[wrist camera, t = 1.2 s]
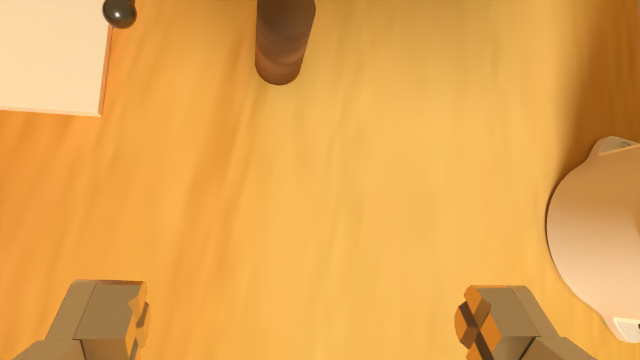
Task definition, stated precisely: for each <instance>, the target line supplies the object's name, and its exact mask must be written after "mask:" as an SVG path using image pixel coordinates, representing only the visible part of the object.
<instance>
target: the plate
mask: <svg viewBox="0 0 640 360" xmlns="http://www.w3.org/2000/svg"><path fill="white" fill-rule="evenodd" d="M104 1H105V0H0V110H13V111H28V112H42V113H56V114H70V115H84V116H98V117H102V110H103V102H104V94H105V86H106V77H107V69H108V61H109V53H110V44H111V36H112V28H113V26H111V25H110V24H109V23H107V21H106V20H105V19H104V17H103V14H102V5H103V3H104Z"/></svg>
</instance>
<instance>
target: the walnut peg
mask: <svg viewBox="0 0 640 360" xmlns="http://www.w3.org/2000/svg"><path fill="white" fill-rule="evenodd" d="M315 11H316V7H315V2H314V0H258V2H257V26H256V54H255V66H256V70H257V72H258V74H259V75H260V77H261V78H262V79H263V80H265V81H266V82H268V83H270V84H273V85H285V84H288V83H290V82H292V81H293V80H294V79H295V78H296V77H297V76H298V74H299V72H300V68H301V64H302V61H303V57H304V53H305V50H306V46H307V42H308V39H309V35H310V31H311V28H312V24H313V20H314V16H315Z"/></svg>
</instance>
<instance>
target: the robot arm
mask: <svg viewBox="0 0 640 360" xmlns="http://www.w3.org/2000/svg"><path fill="white" fill-rule="evenodd" d="M547 237H548V244H549V248H550V252H551V255H552V258H553V261H554V263H555V266H556V268H557V270H558V272H559V273H560V275H561V277H562V278H563V280H564V281H565V283H566V284H567V285H568V287H569V288H570V289H571V290H572V291H573V292H574V293H575V294H576V295H577V296H578V297H579V298H580V299H581V300H583V301H584V302H585V303H587V304H588V305H589V306H591V307H592V308H593V309H595V310H596V311H597V312H598V313H599V314H600V315H601V316H602V318H603V319H604V321H605V322H606V324H607V326H608V327H609V329H610V330H611V331H612V333H613V334H614V335H615V336H616V337H617V338H618V339H619V340H621V341H623V342H632V343H637V342H640V327H638V324H640V143H637V142H634V141H630V140H627V139H623V138H620V137H616V136H609V137H604V138H601V139H599V140H598V141H597V142H596V144H595V145H594V147H593V148H592V150H591V152H590V154H589V156H588V158H587V159H586V160H585V161H584V162H583V163H582V164H581V165H579V166H578V167H576V168H575V169H574V170H572V171H571V172H570V173H569V174H567V175H566V176H565V178H564V179H563V180H562V181H561V182H560V184H559V185H558V187H557V188H556V190H555V192H554V194H553V197H552V199H551V202H550V205H549V210H548V216H547ZM146 295H147V286H146V282H144V281H122V280H86V279H76V280H75V281H74V282H73V283H72V284H71V285H70V287H69V289H68V292H67V294H66V296H65V298H64V300H63V302H62V304H61V306H60V308H59V311H58V313H57V315H56V317H55V319H54V321H53V323H52V325H51V327H50V329H49V332H48V334H47V336H46V338H45V340H39V341H36V342H34V343H33V344H32V345H30V346H29V347H28V348H27V349H25V350H24V351H23V352H21V353H20V354H19V355H17V356H16V357H15V358H13V359H12V360H141V358H140V351H139V350H140V349H141V348H142V347H143V346H144V345H145V344H146V340H147V336H148V330H149V322H150V309H149V304H148V303H147V302H145V299H146ZM464 297H465V299H466V301H465V302H464V303H462V304H461V305H460V306H458V309H457V311H456V314H455V329H456V334H457V336H458V339H459V341H460V343H462V344H463V345H464V346H465V347H466V348H467V349H468V352H467V356H466V358H467V360H597V359H595V358H594V357H592V356H591V355H590V354H588V353H587V352H585V351H584V350H583V349H581V348H580V347H578V346H577V345H576V344H574V343H573V342H572V341H570V340H569V339H567V338H566V337H560V336H559V335H558V333H557V331H556V330H555V328H554V327H553V325H552V324H551V322H550V321H549V319H548V317H547V316H546V314H545V313H544V311H543V310H542V308H541V307H540V305H539V304H538V302H537V300H536V299H535V297H534V296H533V294H532V293H531V291H530V290H529V289H528V288H527V287H526V286H504V285H471V286H469V287H468V288H467V289H466V291H465V293H464Z"/></svg>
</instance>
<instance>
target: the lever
mask: <svg viewBox="0 0 640 360" xmlns="http://www.w3.org/2000/svg"><path fill="white" fill-rule="evenodd" d="M102 14H103V17H104V19H105V20H106V21H107V23H109V24H110V25H111V26H113V27H115V28H118V29H126V28H129V27H131V26H132V25H133V24H134V23H135V21H136V18H137V11H136V8H135V0H105V1H104V3H103V5H102Z"/></svg>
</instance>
